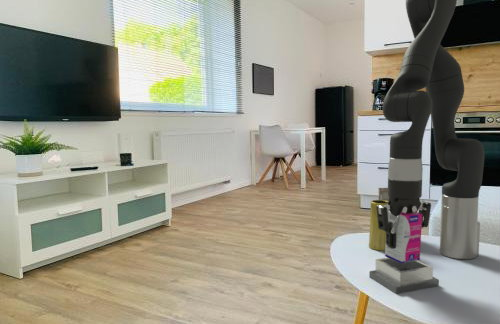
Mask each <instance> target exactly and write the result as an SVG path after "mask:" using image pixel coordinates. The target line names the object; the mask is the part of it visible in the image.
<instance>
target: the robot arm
mask: <svg viewBox="0 0 500 324" xmlns="http://www.w3.org/2000/svg"><path fill="white" fill-rule="evenodd" d="M457 2H458V0H405V9H406V15H407V18H408V21H409V25H410V28H411V33H412V36H413V38H414V39H413V41H412V42H411V43H410V45H408V47H407V49H406V50H405V53H404V55H403V57H402V61H401V65H400V69H399V73H398V76H397V77H396V78H395V80H394V82H393V84H392V85H391V87H390V88H389V90H388V91H387V93H386V95H385V97H384V99H383V103H382V109H381V110H382V114H383V117H384V118H385V119H386V120H387V121H388V122H392V123H411V125H410V127H409V128H408V129H407V130H405V131H399V132H395V133H392V134H391V136H390V138H389V139H390V140H389V162H388V167H387V168H388V170H387V188H388V196H389V201H388V203H387V205H383V206H381V205H377V207H376V208H377V218H378V228H379V229H381V230H383V231H385V232H386V245H387V246H388V247H389V248H391V249H395V248H396V234H395V232H396V229H397V226H398V225H399V218H400V215H405V214H406V213H413V214H416V213H420V214H422V227H421V230H423V228H427V227H428V226H429V222H430V216H431V208H432V203H431V202H427V201H425V200H420V199H421V197H422V196H423V195H422V194H423V172H424V171H423V169H424V168H423V160H422V159H423V139H424V135H425V131H426V128H427V125H428V122H429V119H430V116H431V122H432V129H433V138H434V140H433V141H434V152H435V157H436V160H437V162H438V164H439V166H440V167H441V169H444V170H448V171H453V172H454V171H455V172H457V177H456V179H455V180H453V181H450V182H446V183H443V185H442V186H441V202H440V203H441V206H440V208H441V209H440V211H441V212H440V231H439V232H440V233H439V234H440V236H439V253H440V254H441V255H443V256H446V257H448V258H452V259H458V260H473V259H475V258H476V257H477V256H479V254H480V235H481V234H480V233H481V223H480V222H479V220H478V219H479V217H478V216H479V195H480V190H481V187H482V184H483V183H482V182H483V175H484V166H485V149H484V146H483V145H484V144H482V142H481V141H479V140H478V139H474V138H459V137H458V136H457V134H456V133H457V132H456V127H455V117H456V115H457V112H458V110H459V109H460V108H459V107H460V105H461V104H462V100H463V98H464V95H465V83H464V79H463V72H462V67H461V65H460V63H459V62H458V61H457V59H456V58H455V57H454V56H453V55H451V53H450V52H448V51H447V50H446V48H445V47H443V46H442V44H441V42H442V40H443V38H444V36H445V33H446V32H447V29H448V27H449V24H450V22H451V20H452V17H453V15H454V13H455V9H456V7H457V6H456V5H457ZM422 89H425V90H422ZM388 211H390V212H391V214H392V215H394V216H397V215H398V216H397V218H396V220H393V219H391V218H390V215H389V216H388V214H389V212H388ZM391 223H393V224H392V227H391Z"/></svg>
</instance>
